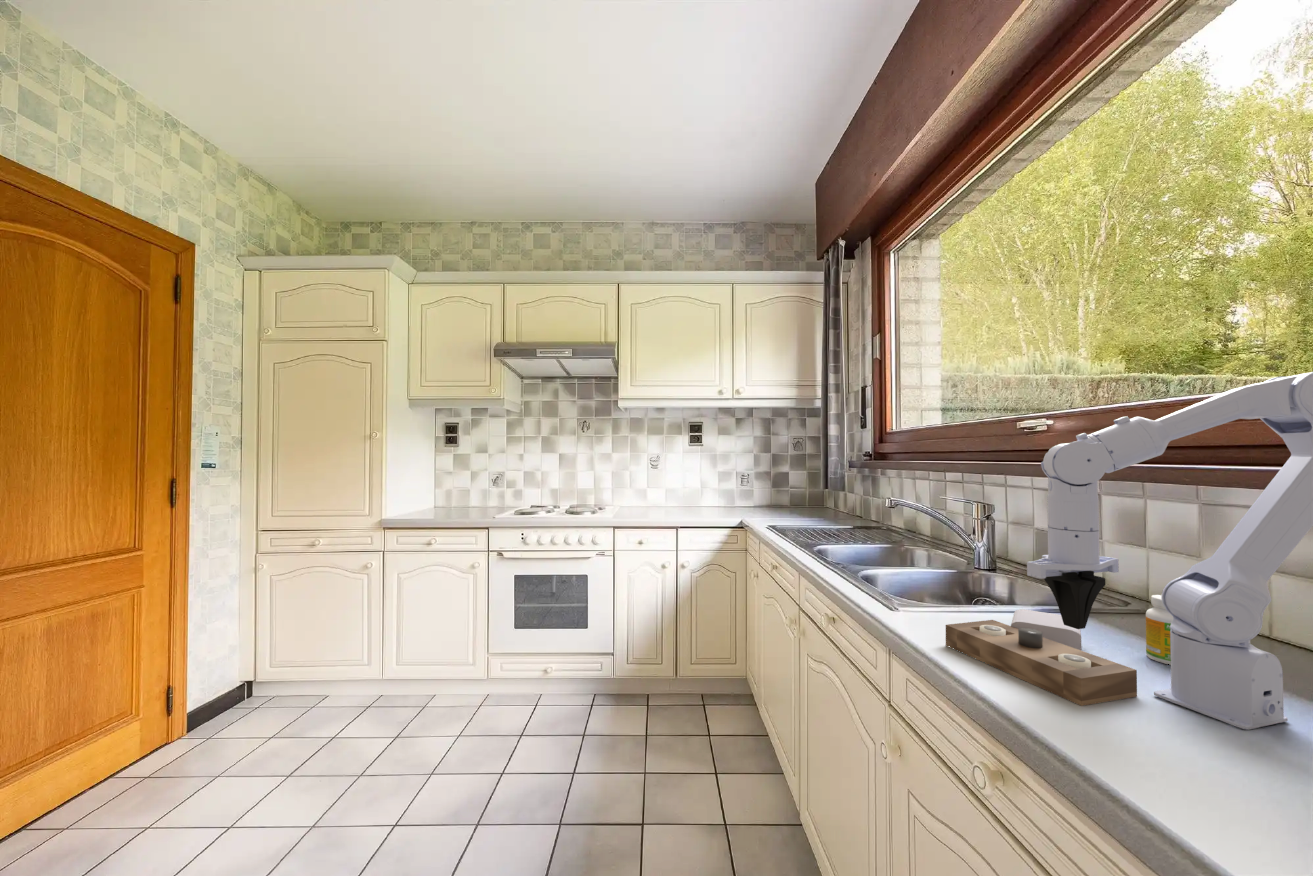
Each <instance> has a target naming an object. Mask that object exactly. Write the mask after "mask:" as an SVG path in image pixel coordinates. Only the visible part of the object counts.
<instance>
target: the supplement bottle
mask: <svg viewBox="0 0 1313 876" xmlns="http://www.w3.org/2000/svg"><path fill="white" fill-rule="evenodd" d="M1150 597H1151V599H1150V603H1151V606H1152V608H1148V609H1147V610H1146V612H1145V651H1146V652H1145V653H1146V656H1147V658H1149V659H1151V660H1153V661H1156V662H1158V663H1161V664H1166V665H1168V664H1169V666H1171V640H1170V630H1171V629H1170V625H1171V623H1172V622H1173V616H1172V615H1171V614H1170V613H1169V612H1168V611H1167V610H1166V609H1165V607H1164V605H1163V603H1162V599H1161V597H1162V594H1152V595H1151V596H1150Z"/></svg>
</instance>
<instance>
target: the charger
mask: <svg viewBox="0 0 1313 876" xmlns="http://www.w3.org/2000/svg"><path fill="white" fill-rule="evenodd" d="M1010 626H1012V627H1015V628H1018V629H1020V628H1028V629H1034V630H1038V631H1040V632H1042V635H1043V637H1044V638H1046V639H1049V640H1052V641H1055V642H1058V643H1061V644H1064V645H1066V646H1069V647H1072V648H1075V649H1078V650H1081V651H1082V632H1081V631H1082V630H1081V629H1076V628H1072V627H1069V626H1066V625H1064V623H1063V620H1062V617H1061V614H1059V613H1058V614H1057V613H1051V612H1050V613H1049V612H1046V611H1045V612H1044V611H1037V610H1032V609H1031V610H1030V609H1023V608H1022V609H1020V608H1019V609H1016V610H1015V611H1014V612H1013V616H1012V620H1011V624H1010Z"/></svg>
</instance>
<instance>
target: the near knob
mask: <svg viewBox="0 0 1313 876" xmlns="http://www.w3.org/2000/svg"><path fill="white" fill-rule="evenodd" d="M1058 661H1059V662H1062V663H1064V664H1067V665H1070V666H1072V667H1075V668H1077V669H1083V668H1090V667H1091V661H1090V660H1089V659H1087V658H1085V657H1082V656H1078V655H1073V654H1059V655H1058Z"/></svg>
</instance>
